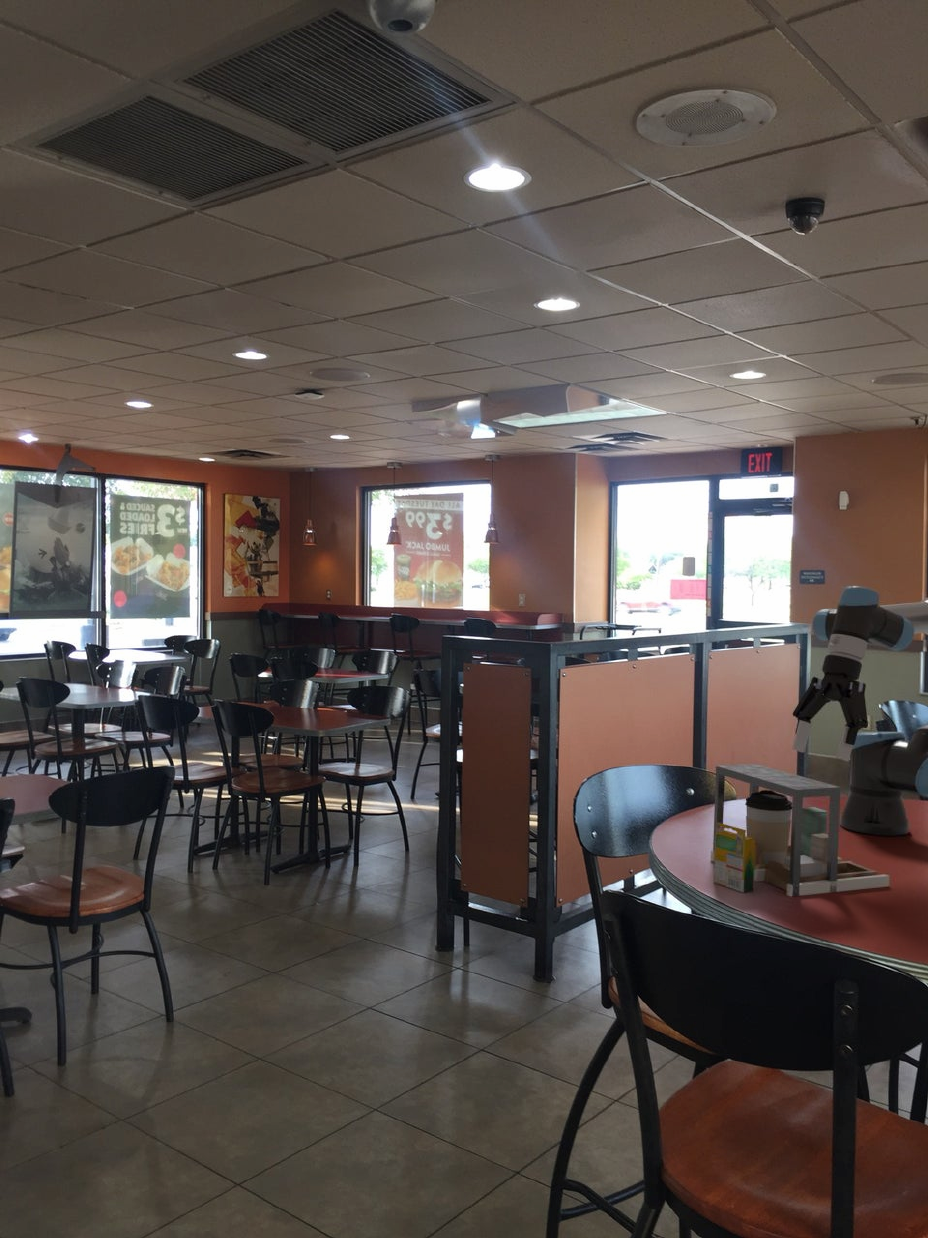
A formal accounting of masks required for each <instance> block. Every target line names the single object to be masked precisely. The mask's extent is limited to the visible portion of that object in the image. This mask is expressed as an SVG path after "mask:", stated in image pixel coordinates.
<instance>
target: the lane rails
mask: <svg viewBox="0 0 928 1238" xmlns="http://www.w3.org/2000/svg"><path fill="white" fill-rule="evenodd" d="M710 861H711V862H715V851H713V850H710ZM849 861H850V860H849ZM850 862H852V861H850ZM765 870H766V869H756V870H754V881H755V882H764V881H765ZM765 882H766V881H765ZM834 883H835V884H834ZM834 883H833V884H832V883H831V882H830V881H827V880H823V881H813V882H803V883H800V885H798V886H800V887H799V890H798V891H799V894H798V893H797V895H799V896H801V897H802V896H810V895H819V894H827V893H828V894H829V893H836V892H837V893H839V892H846V891H856V890H867V889H874V888H875V889H877V888H886V887H889V886H890V875H889V874H885V873H884V874H877V875H874V876H864V877H854V878H844V879H837V881H835V882H834ZM831 884H832V885H831ZM793 886H796V885H791V884H787V891H786V896H788V897H796V896H795V895H794V896H792V895H793V889H794V888H795V887H794V888H793ZM798 886H797V887H798ZM831 886H833V889H836V891H835V890H834V891H835V892H833V891H832V892H830V890H831V889H832V888H831V889H830V887H831ZM834 886H835V887H836V886H837V888H834ZM833 889H832V890H833ZM795 890H796V889H795ZM799 896H798V897H799Z"/></svg>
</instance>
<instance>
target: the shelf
mask: <svg viewBox="0 0 928 1238" xmlns="http://www.w3.org/2000/svg"><path fill="white" fill-rule="evenodd" d="M726 777H728V778H729V779H730V778H731V779H734V780H737V781H740V782H743V783H746V784H749V796H748V797H750V796H751V794H752V793H755V792H760V791H759V790H760V788H763V789H765V790H770V791H774V792H775V793H778V794H782V795H785V796H788V797H791V798H792V801H791V802H792V809H791V825H790V831H791V832H790V844H791V852H790V877H789V884H791V885H796V886H793V888H794V887H795V888H794V889H793V895H792V896H791V897H799V895H797V893H798V894H799V891H798V890H799V887H800V886H798V885H800V862H801V837H802V811H803V808H804V807H803V805H804V798H816V797H817V798H818V797H829V807H828V808H829V812H828V813H829V815H828V834H827V835H828V857H827V881H830V882H831V883H832V884H833V883H834V882H835V881H837V864H838V857H839V837H840V835H839V832H840V816H841V814H840V813H841V809H840V808H841V789H842V788H841V786H837V785H834V784H830V783H826V782H823V781H820V780H815V779H811V778H809V777H805V776H802V775H799V774H794V773H790V772H787V771H783V770H780V769H777V768H773V767H770V766H765V765H761V764H759V763H750V764H749V763H747V764H745V763H744V764H724V765H723V764H722V765H716V766H715V783H714V784H715V787H714V788H715V789H714V790H715V791H714V811H713V813H714V814H713V815H714V817H713V836H712V837H713V839H712V840H713V841H712V842H713V843H712V846H713V847H712V851H715V839H716V822H718V823H722V824H724V814H725V813H724V809H725V808H724V807H725V805H724V804H725V786H726V785H725V783H726V780H725V779H726ZM832 884H831V885H832ZM834 884H835V883H834ZM797 886H798V887H797ZM831 888H832V889H833V886H831V887H830V889H831ZM834 888H837V886H836V887H835V886H834ZM795 889H796V890H795ZM832 889H831V890H830V892H829V893H836V892H835V891H836V889H833V890H832ZM834 890H835V891H834ZM832 891H833V892H832ZM794 895H795V896H794Z"/></svg>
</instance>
